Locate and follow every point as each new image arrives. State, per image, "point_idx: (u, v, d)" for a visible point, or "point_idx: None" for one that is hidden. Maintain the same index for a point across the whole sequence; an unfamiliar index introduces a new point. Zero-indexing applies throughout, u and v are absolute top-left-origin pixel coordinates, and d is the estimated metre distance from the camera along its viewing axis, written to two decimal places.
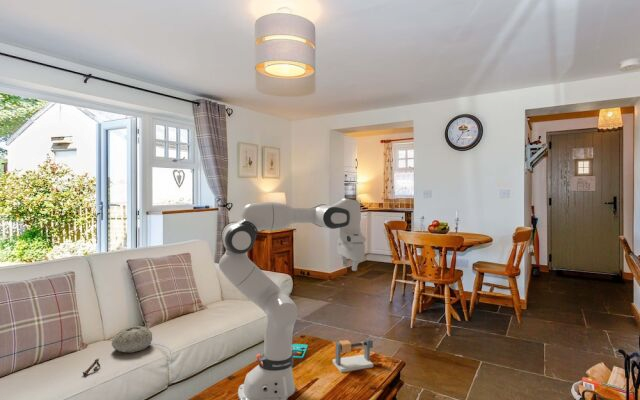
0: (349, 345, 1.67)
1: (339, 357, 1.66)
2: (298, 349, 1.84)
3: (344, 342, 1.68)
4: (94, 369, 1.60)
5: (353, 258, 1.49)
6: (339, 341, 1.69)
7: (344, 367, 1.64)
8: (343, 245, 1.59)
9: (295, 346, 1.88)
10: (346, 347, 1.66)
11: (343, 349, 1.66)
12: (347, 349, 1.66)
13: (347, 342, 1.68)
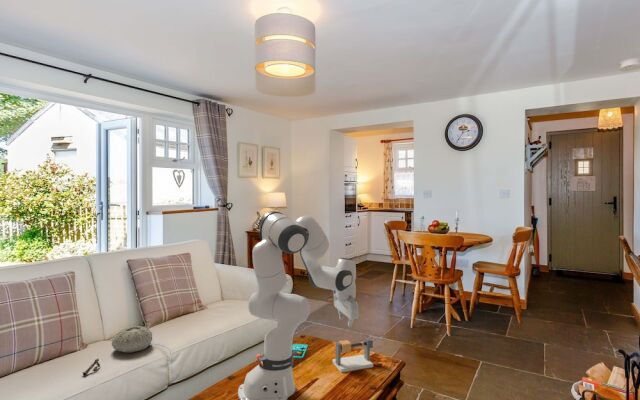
0: (349, 345, 1.67)
1: (339, 357, 1.66)
2: (298, 349, 1.84)
3: (344, 342, 1.68)
4: (94, 369, 1.60)
5: None
6: (339, 341, 1.69)
7: (344, 367, 1.64)
8: None
9: (295, 346, 1.88)
10: (346, 347, 1.66)
11: (343, 349, 1.66)
12: (347, 349, 1.66)
13: (347, 342, 1.68)
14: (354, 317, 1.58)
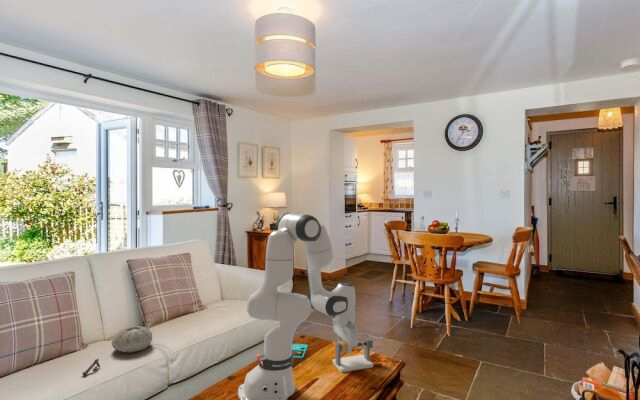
0: None
1: (339, 357, 1.66)
2: (298, 349, 1.84)
3: (344, 342, 1.68)
4: (94, 369, 1.60)
5: None
6: (339, 341, 1.69)
7: (344, 367, 1.64)
8: None
9: (295, 346, 1.88)
10: (346, 347, 1.66)
11: (343, 349, 1.66)
12: None
13: None
14: (353, 344, 1.58)
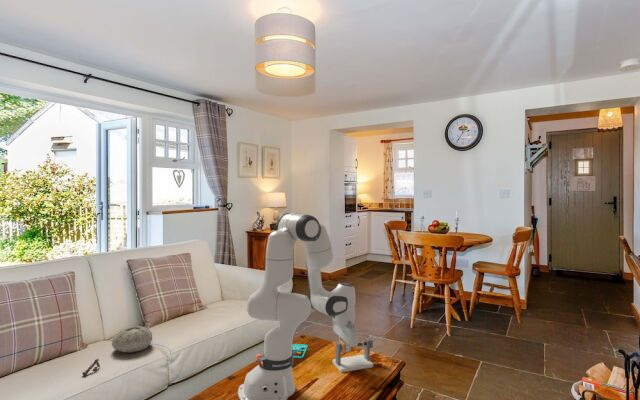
0: None
1: (339, 357, 1.66)
2: (298, 349, 1.84)
3: (344, 342, 1.68)
4: (94, 369, 1.60)
5: None
6: (339, 341, 1.69)
7: (344, 367, 1.64)
8: None
9: (295, 346, 1.88)
10: None
11: (343, 349, 1.66)
12: None
13: None
14: (353, 344, 1.58)
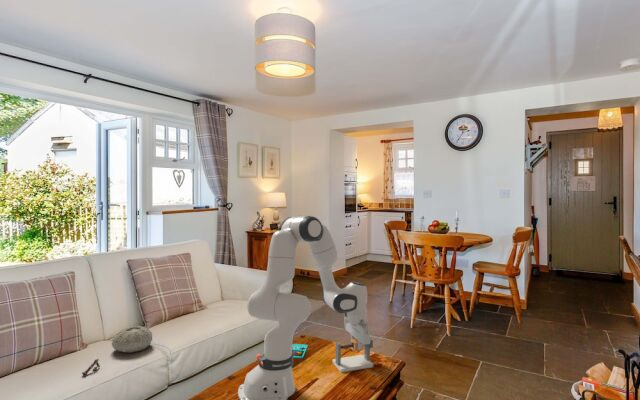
0: None
1: (339, 357, 1.66)
2: (298, 349, 1.84)
3: (356, 340, 1.70)
4: (93, 369, 1.60)
5: None
6: (351, 339, 1.71)
7: (344, 367, 1.64)
8: None
9: (295, 346, 1.88)
10: None
11: (355, 347, 1.68)
12: None
13: None
14: (366, 342, 1.61)
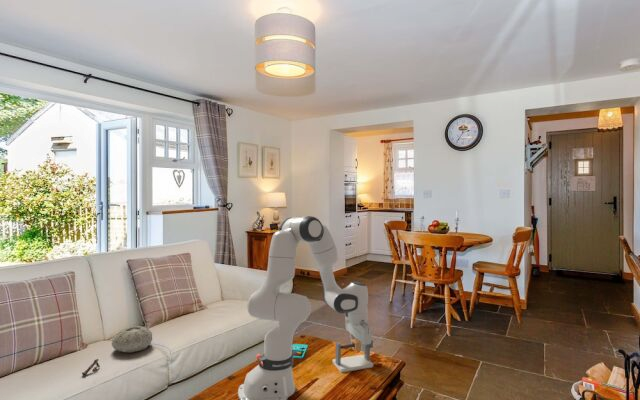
0: None
1: (339, 357, 1.66)
2: (298, 349, 1.84)
3: (357, 340, 1.70)
4: (93, 369, 1.60)
5: None
6: (352, 339, 1.71)
7: (344, 367, 1.64)
8: None
9: (295, 346, 1.88)
10: (359, 345, 1.69)
11: (356, 347, 1.68)
12: None
13: None
14: (367, 342, 1.61)
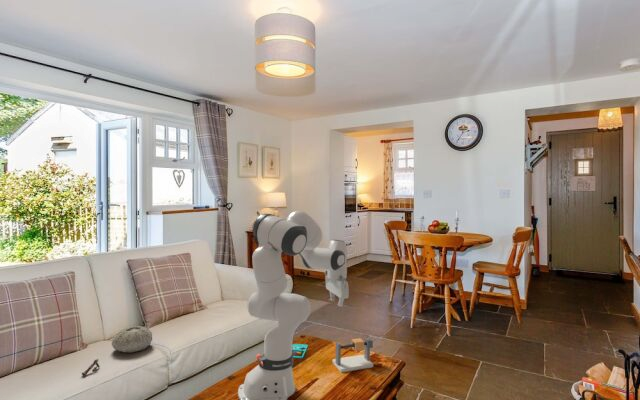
0: (362, 343, 1.69)
1: (339, 357, 1.66)
2: (298, 349, 1.84)
3: (357, 340, 1.70)
4: (93, 370, 1.60)
5: None
6: (352, 339, 1.71)
7: (344, 367, 1.64)
8: None
9: (295, 346, 1.88)
10: (359, 345, 1.69)
11: (356, 347, 1.68)
12: (360, 347, 1.69)
13: (360, 340, 1.70)
14: (344, 296, 1.63)
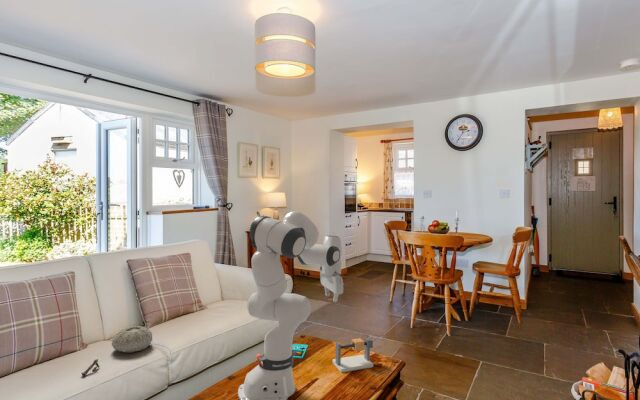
0: (362, 343, 1.69)
1: (339, 357, 1.66)
2: (298, 349, 1.84)
3: (357, 340, 1.70)
4: (93, 370, 1.60)
5: None
6: (352, 339, 1.71)
7: (344, 367, 1.64)
8: None
9: (295, 346, 1.88)
10: (359, 345, 1.69)
11: (356, 347, 1.68)
12: (360, 347, 1.69)
13: (360, 340, 1.70)
14: (339, 291, 1.64)
